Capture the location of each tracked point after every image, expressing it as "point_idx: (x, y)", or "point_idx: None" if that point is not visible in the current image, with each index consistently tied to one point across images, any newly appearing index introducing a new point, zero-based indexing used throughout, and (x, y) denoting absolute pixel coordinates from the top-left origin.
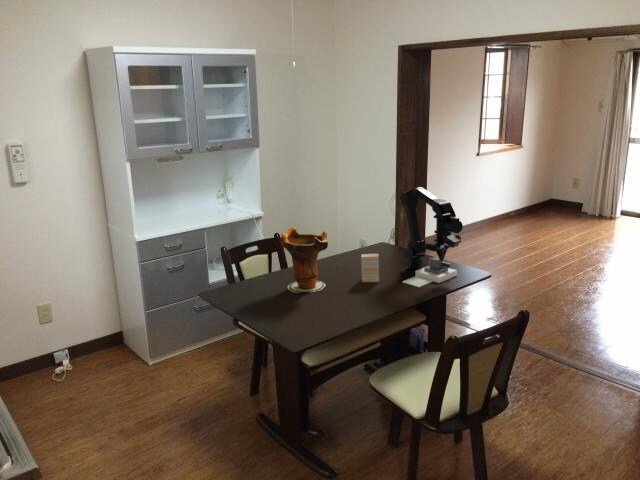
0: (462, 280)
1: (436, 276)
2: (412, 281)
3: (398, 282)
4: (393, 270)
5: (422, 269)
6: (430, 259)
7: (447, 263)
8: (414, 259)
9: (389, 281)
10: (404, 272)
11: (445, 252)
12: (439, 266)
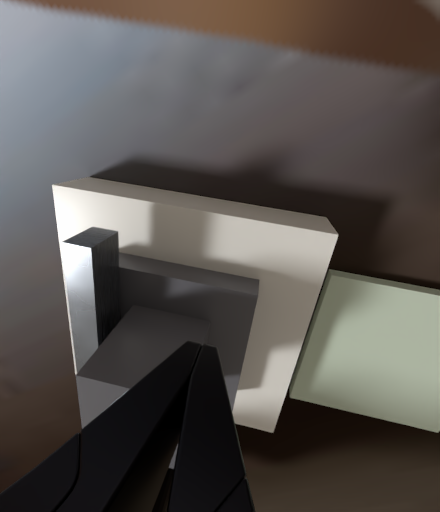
0: (138, 78)
1: (319, 268)
2: (410, 384)
3: (427, 439)
4: None
5: None
6: None
7: (86, 283)
8: (156, 506)
9: (429, 477)
10: None
11: (57, 494)
12: (166, 327)
